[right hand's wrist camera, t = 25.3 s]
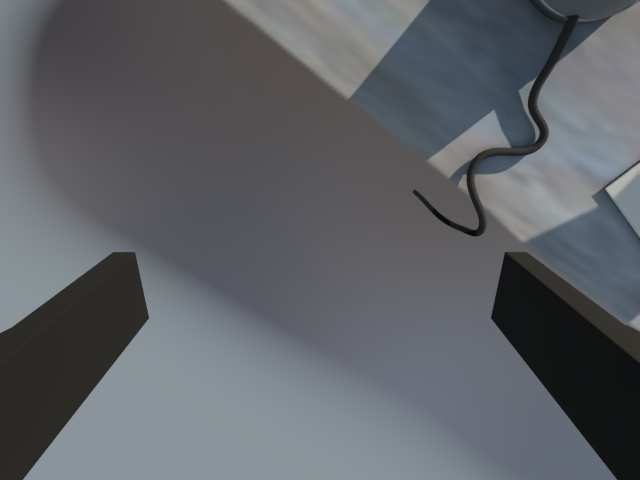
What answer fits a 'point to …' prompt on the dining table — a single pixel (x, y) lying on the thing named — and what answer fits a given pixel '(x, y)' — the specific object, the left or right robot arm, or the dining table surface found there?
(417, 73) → the dining table surface
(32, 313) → the right robot arm
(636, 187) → the invitation card
